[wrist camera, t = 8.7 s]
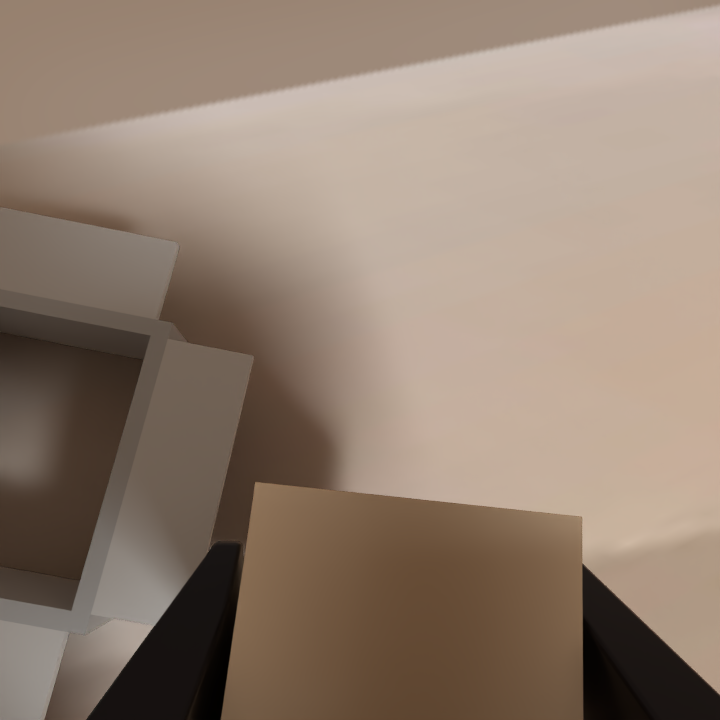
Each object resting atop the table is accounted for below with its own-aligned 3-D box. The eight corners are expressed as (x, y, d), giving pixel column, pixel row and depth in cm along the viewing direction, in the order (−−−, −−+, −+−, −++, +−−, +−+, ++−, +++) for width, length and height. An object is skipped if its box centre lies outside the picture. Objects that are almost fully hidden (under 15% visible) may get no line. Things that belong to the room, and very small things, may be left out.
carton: (282, 305, 21) (275, 261, 17) (190, 707, 18) (156, 763, 14) (-82, 233, 21) (-173, 172, 17) (-247, 629, 17) (-407, 665, 14)
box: (429, 515, 17) (582, 516, 8) (418, 688, 15) (584, 913, 7) (273, 499, 16) (255, 482, 8) (249, 675, 15) (195, 896, 6)
